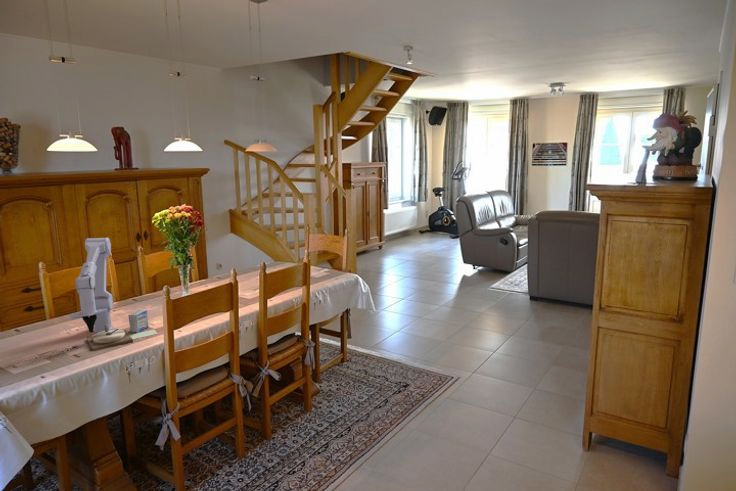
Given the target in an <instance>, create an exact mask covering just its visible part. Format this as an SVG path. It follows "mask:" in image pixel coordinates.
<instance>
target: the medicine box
mask: <svg viewBox="0 0 736 491" xmlns="http://www.w3.org/2000/svg"><path fill="white" fill-rule="evenodd" d="M148 316H149V315H148V311H147V310H145V309H140V310H137V311H135V312H133V313H130V314H128V322H129V324H128V325H129V332H130V333H134V334H135V333H140V332H144V331H145V330H146V329H148V328H149V317H148Z"/></svg>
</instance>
